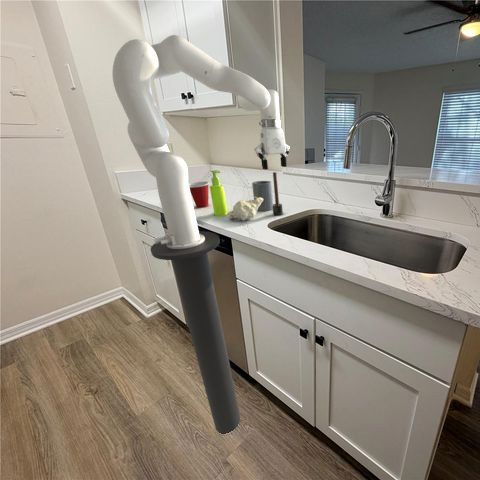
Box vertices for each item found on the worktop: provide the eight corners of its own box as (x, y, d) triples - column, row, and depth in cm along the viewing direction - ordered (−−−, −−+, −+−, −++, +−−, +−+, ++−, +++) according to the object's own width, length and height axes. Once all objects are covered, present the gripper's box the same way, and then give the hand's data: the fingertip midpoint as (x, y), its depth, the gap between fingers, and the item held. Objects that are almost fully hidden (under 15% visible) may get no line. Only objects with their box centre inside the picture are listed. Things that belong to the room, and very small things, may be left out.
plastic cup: (187, 206, 136) (182, 183, 131) (208, 202, 142) (204, 180, 138) (194, 210, 128) (189, 186, 124) (216, 206, 135) (212, 183, 130)
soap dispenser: (219, 216, 118) (211, 171, 110) (212, 213, 122) (204, 170, 115) (231, 213, 122) (224, 170, 114) (223, 211, 126) (217, 169, 119)
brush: (276, 216, 117) (273, 173, 110) (271, 214, 120) (267, 172, 113) (284, 214, 120) (281, 172, 113) (279, 212, 123) (275, 171, 116)
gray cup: (261, 212, 124) (258, 184, 119) (251, 208, 130) (248, 182, 125) (277, 208, 129) (274, 182, 124) (266, 205, 135) (264, 180, 130)
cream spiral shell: (229, 229, 108) (254, 207, 104) (219, 215, 109) (244, 192, 105) (249, 228, 123) (271, 208, 119) (240, 216, 124) (263, 196, 120)
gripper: (257, 124, 98) (262, 171, 104) (293, 124, 109) (295, 166, 115) (247, 125, 103) (252, 169, 109) (282, 125, 114) (285, 165, 120)
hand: (274, 167), depth 112 cm, fingers open, 9 cm apart
